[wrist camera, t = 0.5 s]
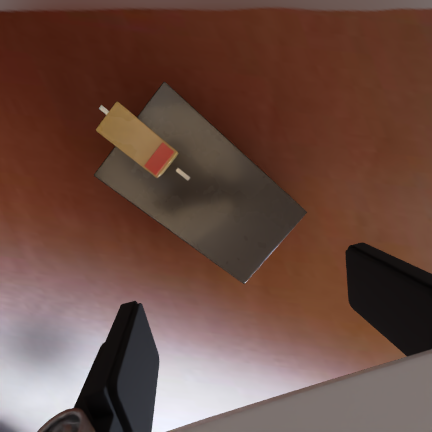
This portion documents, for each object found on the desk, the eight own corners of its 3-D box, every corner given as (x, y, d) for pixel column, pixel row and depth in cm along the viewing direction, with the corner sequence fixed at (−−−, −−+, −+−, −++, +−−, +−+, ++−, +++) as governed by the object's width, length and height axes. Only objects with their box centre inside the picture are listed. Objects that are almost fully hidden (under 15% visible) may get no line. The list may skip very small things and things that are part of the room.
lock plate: (80, 155, 23) (64, 155, 20) (143, 70, 22) (137, 55, 19) (237, 271, 28) (244, 285, 25) (294, 206, 27) (308, 212, 24)
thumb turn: (113, 136, 20) (93, 129, 15) (131, 113, 20) (115, 99, 15) (162, 174, 21) (156, 178, 17) (179, 153, 21) (178, 151, 16)
